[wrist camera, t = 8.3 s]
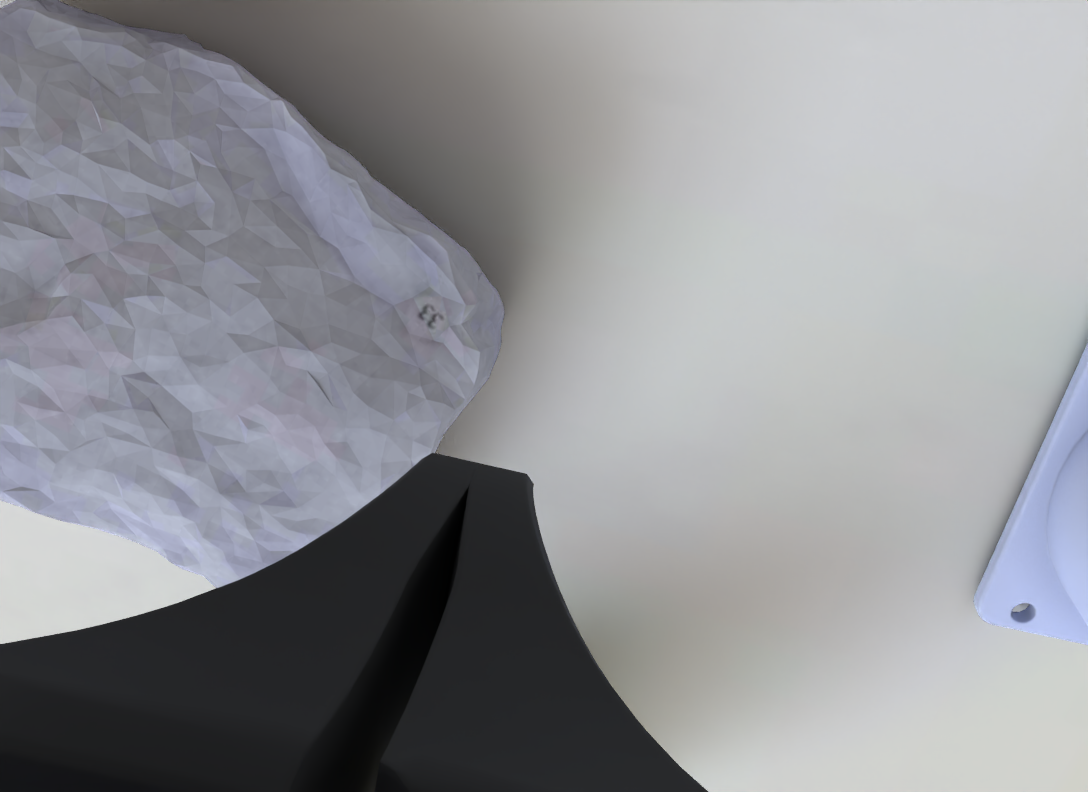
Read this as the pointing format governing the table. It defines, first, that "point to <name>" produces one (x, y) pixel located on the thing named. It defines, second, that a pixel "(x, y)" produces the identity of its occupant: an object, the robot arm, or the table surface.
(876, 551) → the table surface
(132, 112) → the stone block
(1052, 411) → the table surface
